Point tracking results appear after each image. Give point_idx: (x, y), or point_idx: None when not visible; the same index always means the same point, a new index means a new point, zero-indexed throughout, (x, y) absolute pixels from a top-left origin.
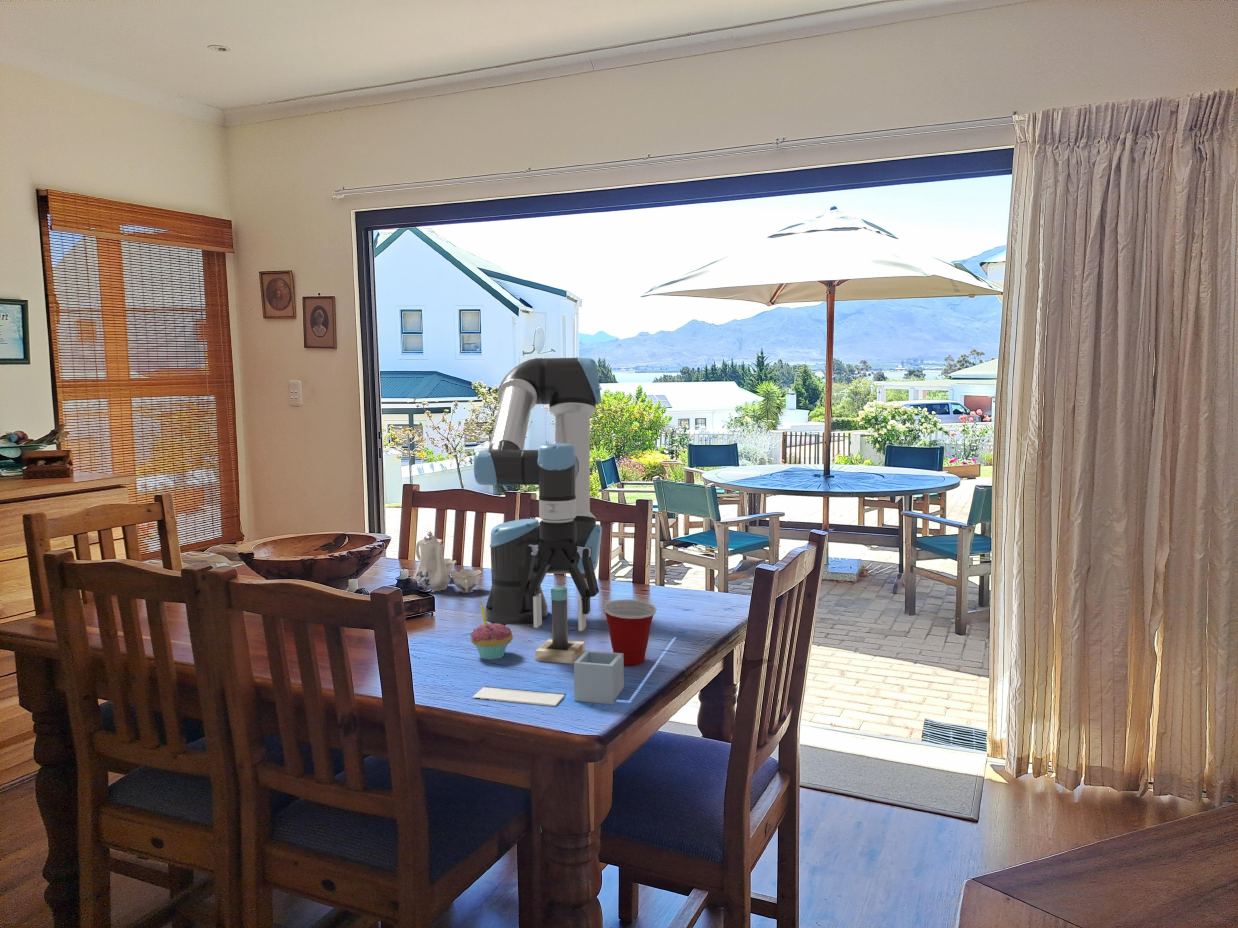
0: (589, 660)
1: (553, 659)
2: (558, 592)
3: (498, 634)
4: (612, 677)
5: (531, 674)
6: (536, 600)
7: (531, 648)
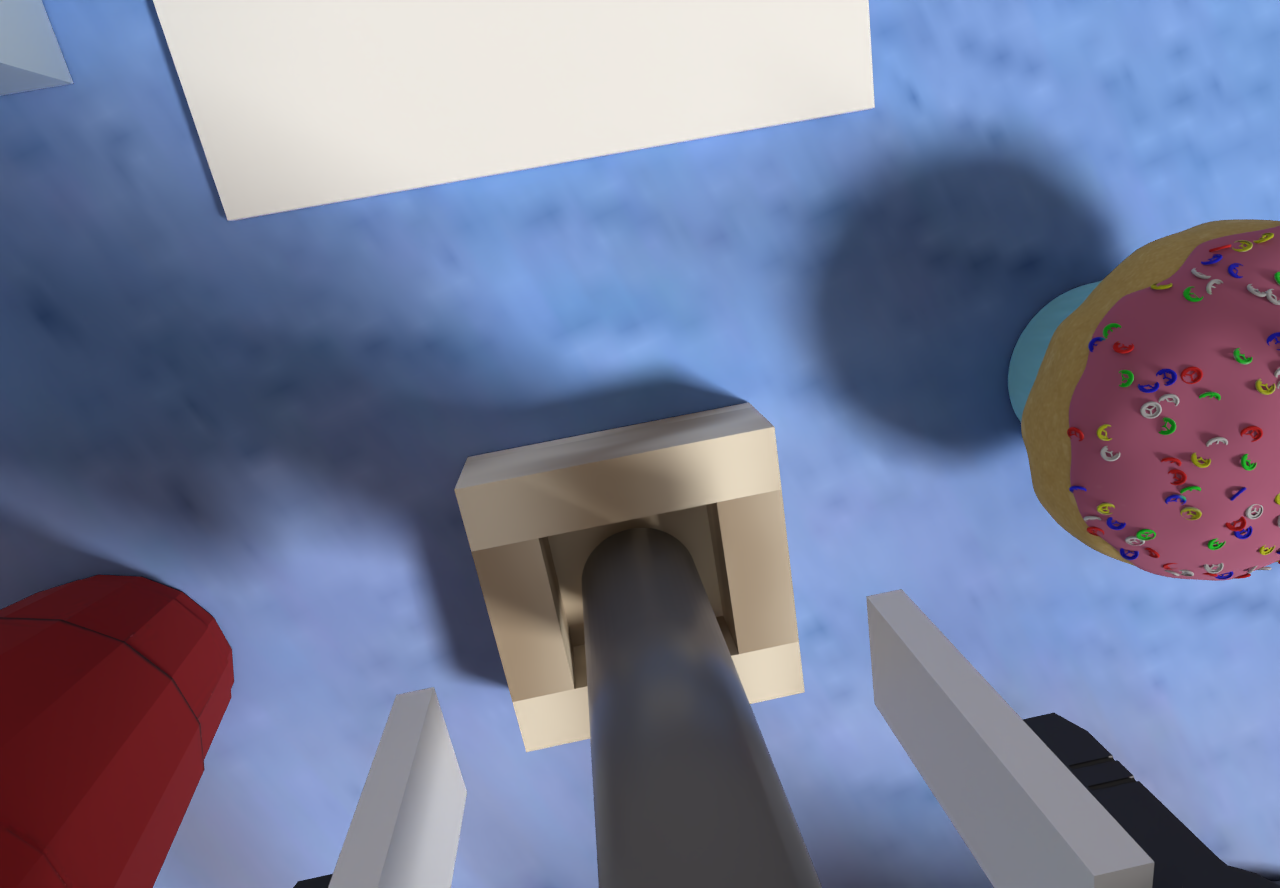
0: None
1: (613, 438)
2: None
3: (1165, 338)
4: None
5: (647, 162)
6: (1052, 822)
7: None
